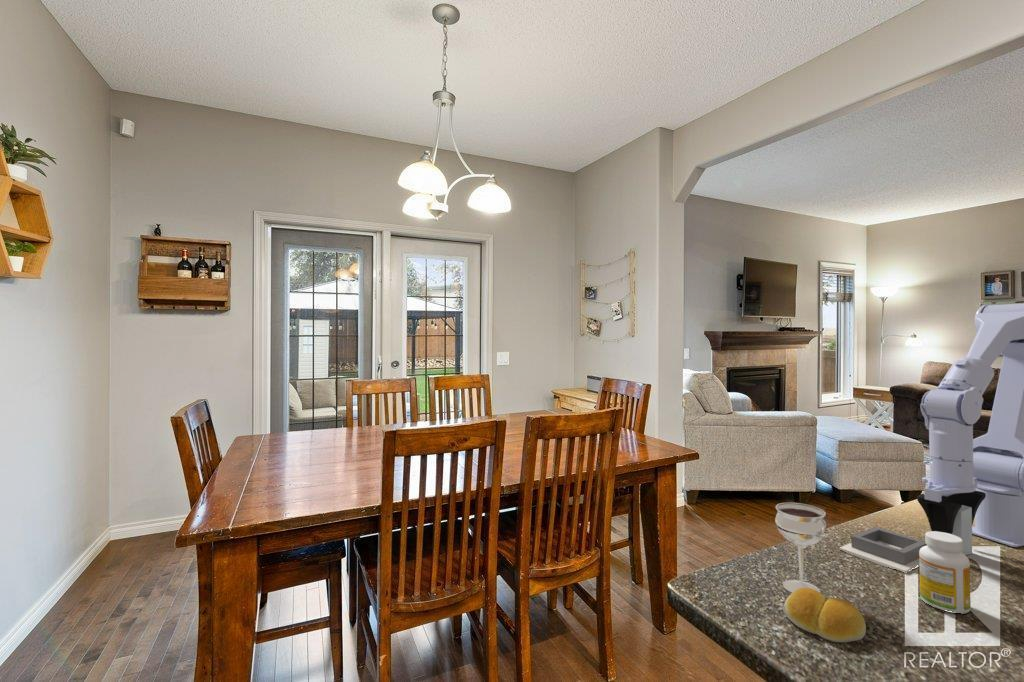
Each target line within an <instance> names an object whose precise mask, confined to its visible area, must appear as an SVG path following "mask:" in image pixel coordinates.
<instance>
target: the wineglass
mask: <svg viewBox="0 0 1024 682" xmlns="http://www.w3.org/2000/svg"><path fill="white" fill-rule="evenodd" d="M775 509H776V511H777V513H776V515H775V519H774V521H775V522H774V523H775V526H776V528H777V530H778V532H779V533H780V534H781V535H782V537H783V538H785V539H786V540H787V541H789V542H791V543H793V545H795V547H797V557H798V571H799V572H798V573H799V580H797V579H790V580H785V581H784V582H783V583H782V587H784V589H785V590H787V591H788V592H789V593H791V594H792V593H793V592H794V591H796V590H797V589H800V588H811V589H814V590H816V591H818V592H820V593H822V592H821V590H820V588H818V587H817V586H816V585H814V584H812V583H809V582H807V581H804V555H805V553H804V552H805V551H804V549H806V548H807V547H808V546H812V545H816V544H817V543H819V542H820V541H821V540H823V539H824V538H825V535H826V533H827V524H826V521H825V519H824V518H825V517H826V514H827V513H826V512H825V510H824V509H821V508H819V507H816V506H814V505H811V504H806V503H799V502H781V503H777V504H776V505H775Z"/></svg>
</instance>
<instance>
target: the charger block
mask: <svg viewBox="0 0 1024 682" xmlns="http://www.w3.org/2000/svg"><path fill="white" fill-rule="evenodd" d="M972 527H973V525H972V507H968V506H964V505H962V507H961V508H960V510H959V511H958V513H957V515H956V518H955V521H954V526H953V533H952V535H955V536H958V537H960V538H961V539H962V540H963V551H961V553H963V554H964V555H968V554H970V555H971V554H973V534H972ZM968 556H969V555H968Z"/></svg>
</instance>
